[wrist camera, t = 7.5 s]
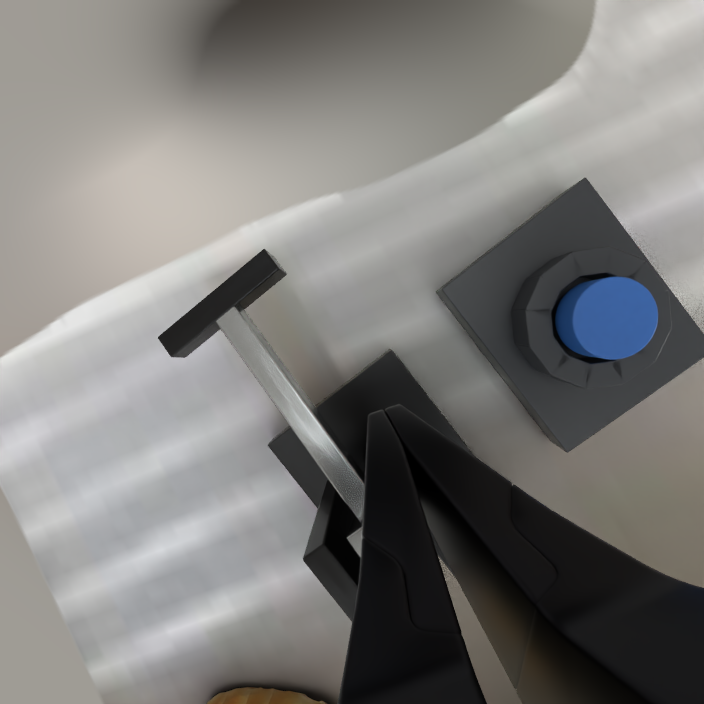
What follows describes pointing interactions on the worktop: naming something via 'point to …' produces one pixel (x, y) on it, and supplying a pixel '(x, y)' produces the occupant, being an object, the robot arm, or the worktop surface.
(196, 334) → the tap lever
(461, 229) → the worktop surface
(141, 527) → the worktop surface
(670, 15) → the worktop surface
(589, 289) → the button
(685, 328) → the switch
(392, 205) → the worktop surface
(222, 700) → the pastry
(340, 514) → the tap bracket
